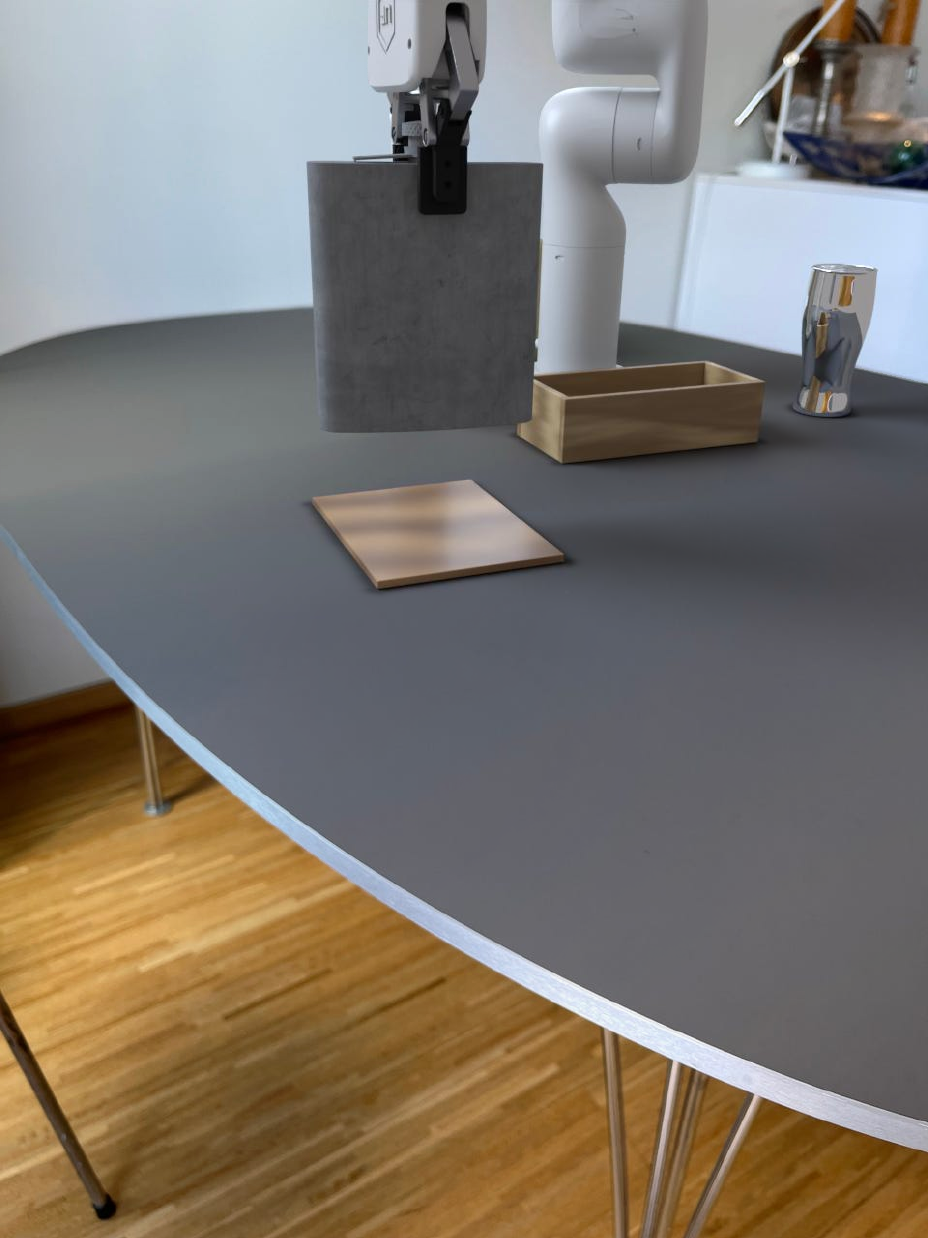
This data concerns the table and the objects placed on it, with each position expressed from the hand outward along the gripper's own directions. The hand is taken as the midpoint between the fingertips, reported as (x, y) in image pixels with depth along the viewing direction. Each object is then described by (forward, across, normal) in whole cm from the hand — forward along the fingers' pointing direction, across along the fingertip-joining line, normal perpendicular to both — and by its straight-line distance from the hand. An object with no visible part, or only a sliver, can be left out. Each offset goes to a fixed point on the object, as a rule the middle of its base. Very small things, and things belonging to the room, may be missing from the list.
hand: (429, 207), depth 69 cm
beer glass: (+23, -20, +53) cm, 61 cm away
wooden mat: (+23, 0, 0) cm, 23 cm away
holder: (+23, -17, +28) cm, 40 cm away
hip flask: (+15, 0, 0) cm, 15 cm away
